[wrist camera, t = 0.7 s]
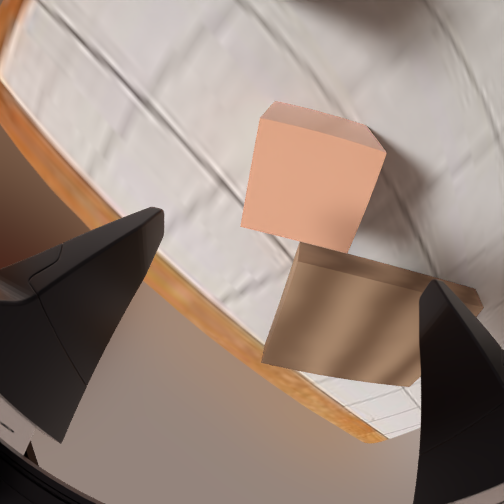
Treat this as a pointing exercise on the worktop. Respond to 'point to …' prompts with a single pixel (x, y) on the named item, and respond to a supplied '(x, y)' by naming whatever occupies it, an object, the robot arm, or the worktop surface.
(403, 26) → the worktop surface
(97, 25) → the worktop surface
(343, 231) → the terracotta cube
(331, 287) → the walnut block
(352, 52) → the worktop surface
